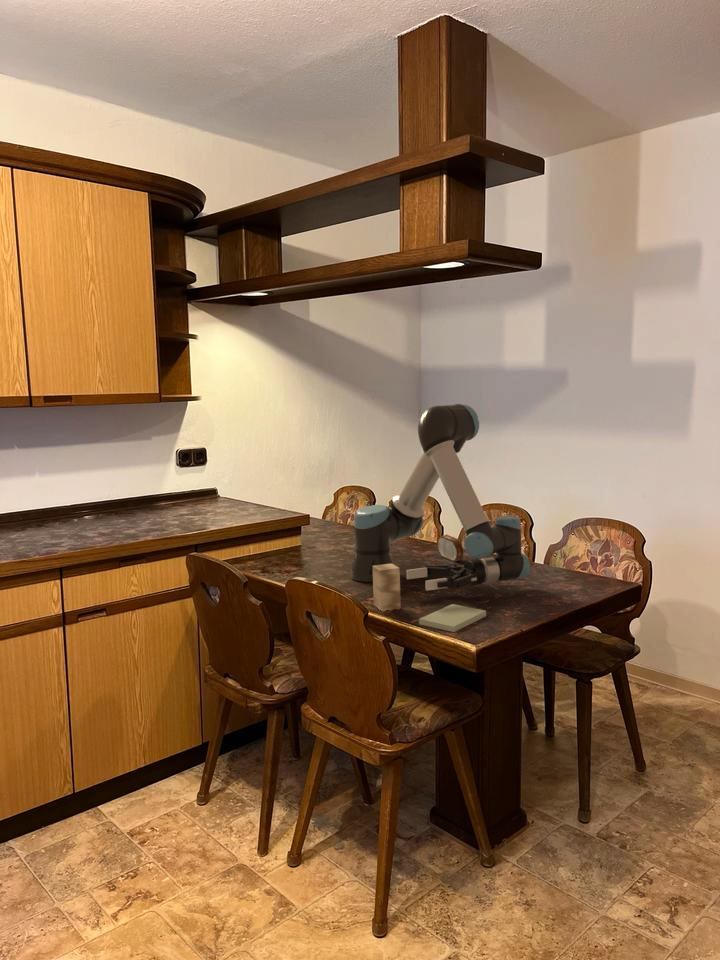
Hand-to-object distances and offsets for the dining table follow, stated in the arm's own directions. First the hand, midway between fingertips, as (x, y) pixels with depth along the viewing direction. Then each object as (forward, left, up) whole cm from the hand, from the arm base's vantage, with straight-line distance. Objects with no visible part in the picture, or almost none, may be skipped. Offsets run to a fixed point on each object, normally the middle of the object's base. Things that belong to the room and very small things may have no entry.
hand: (416, 580), depth 213 cm
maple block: (+8, -5, -7) cm, 12 cm away
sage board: (+7, +17, -7) cm, 20 cm away
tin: (-50, -22, -7) cm, 55 cm away
